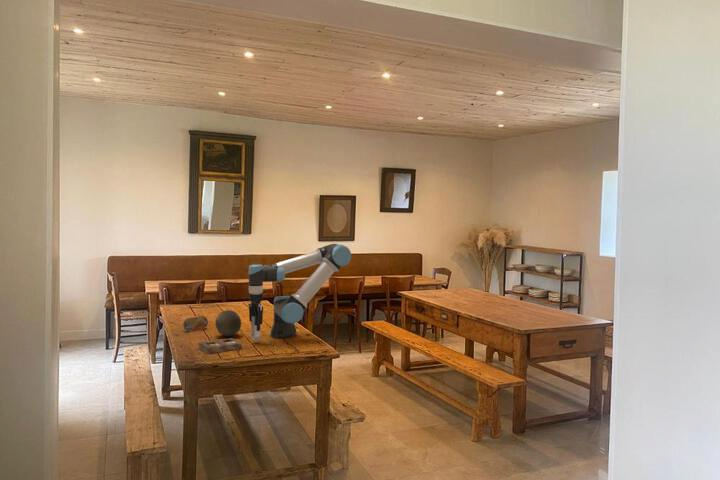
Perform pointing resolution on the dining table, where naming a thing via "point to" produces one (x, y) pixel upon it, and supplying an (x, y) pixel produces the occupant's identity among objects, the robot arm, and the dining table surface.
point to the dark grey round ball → (228, 323)
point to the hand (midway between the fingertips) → (255, 335)
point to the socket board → (220, 345)
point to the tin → (195, 323)
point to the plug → (254, 329)
